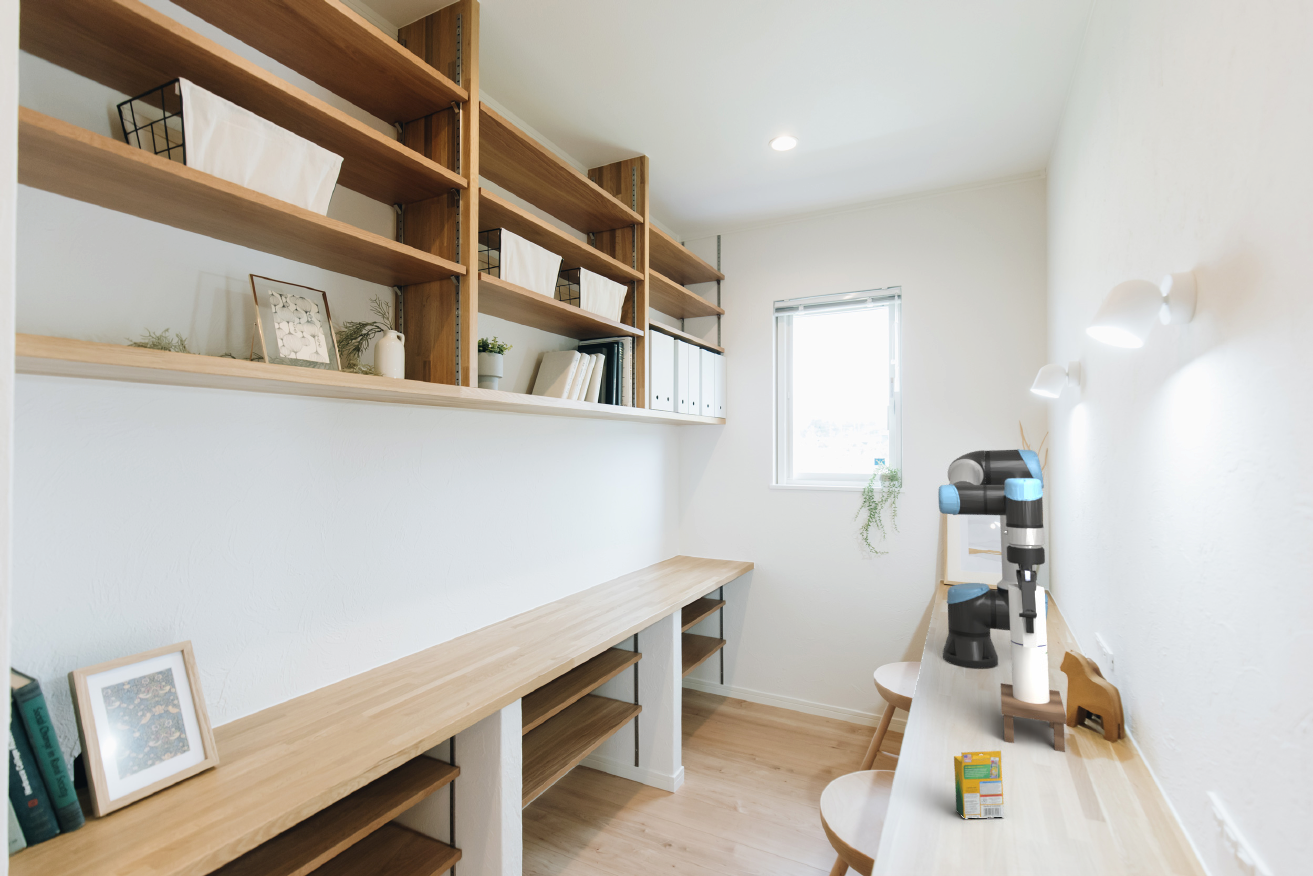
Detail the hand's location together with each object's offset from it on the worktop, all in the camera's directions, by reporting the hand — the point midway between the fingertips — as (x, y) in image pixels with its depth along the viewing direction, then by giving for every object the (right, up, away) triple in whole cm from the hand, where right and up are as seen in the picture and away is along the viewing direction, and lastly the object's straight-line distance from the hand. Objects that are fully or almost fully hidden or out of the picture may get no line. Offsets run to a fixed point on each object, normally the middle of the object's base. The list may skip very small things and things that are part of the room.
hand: (1028, 639), depth 143 cm
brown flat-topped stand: (0, -21, -1) cm, 21 cm away
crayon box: (-28, -21, -32) cm, 47 cm away
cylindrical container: (0, -13, 0) cm, 13 cm away
